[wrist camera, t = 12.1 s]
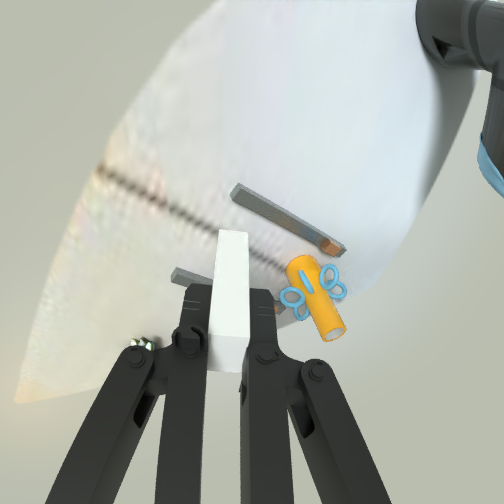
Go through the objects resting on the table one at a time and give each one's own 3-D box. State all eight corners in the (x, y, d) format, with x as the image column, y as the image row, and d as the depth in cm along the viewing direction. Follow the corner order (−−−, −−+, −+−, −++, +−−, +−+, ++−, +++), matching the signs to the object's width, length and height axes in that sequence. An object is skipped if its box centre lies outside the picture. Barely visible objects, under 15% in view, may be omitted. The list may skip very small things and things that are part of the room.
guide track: (170, 275, 47) (171, 286, 45) (238, 182, 39) (242, 191, 37) (277, 309, 60) (280, 318, 58) (343, 244, 52) (349, 253, 50)
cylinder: (335, 269, 56) (370, 330, 46) (289, 296, 58) (316, 360, 47) (314, 230, 48) (357, 299, 37) (261, 262, 50) (289, 336, 39)
